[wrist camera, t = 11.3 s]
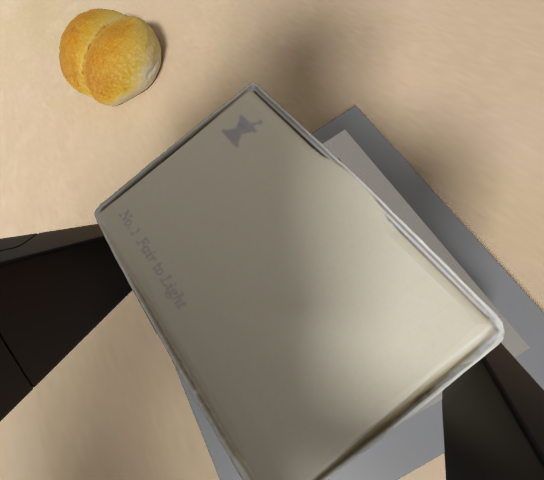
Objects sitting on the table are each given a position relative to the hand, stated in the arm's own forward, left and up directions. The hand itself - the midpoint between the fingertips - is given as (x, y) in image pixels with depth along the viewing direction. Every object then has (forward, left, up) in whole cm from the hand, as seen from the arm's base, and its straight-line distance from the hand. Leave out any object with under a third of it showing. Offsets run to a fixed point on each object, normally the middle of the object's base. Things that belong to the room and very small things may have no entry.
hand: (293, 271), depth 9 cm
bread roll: (-4, +26, -10) cm, 28 cm away
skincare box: (0, 0, -8) cm, 8 cm away
